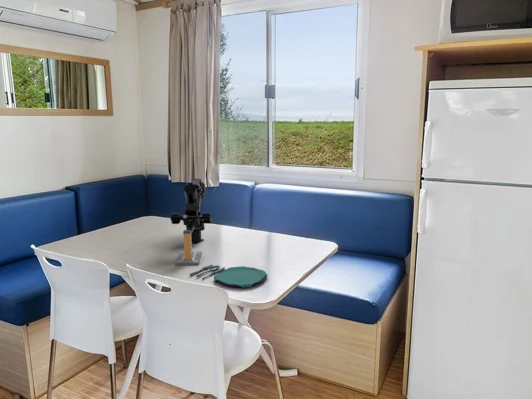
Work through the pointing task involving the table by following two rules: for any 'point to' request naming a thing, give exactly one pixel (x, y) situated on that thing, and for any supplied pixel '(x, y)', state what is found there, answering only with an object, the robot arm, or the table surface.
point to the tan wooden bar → (187, 245)
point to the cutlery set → (235, 275)
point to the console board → (195, 260)
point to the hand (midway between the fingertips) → (190, 233)
